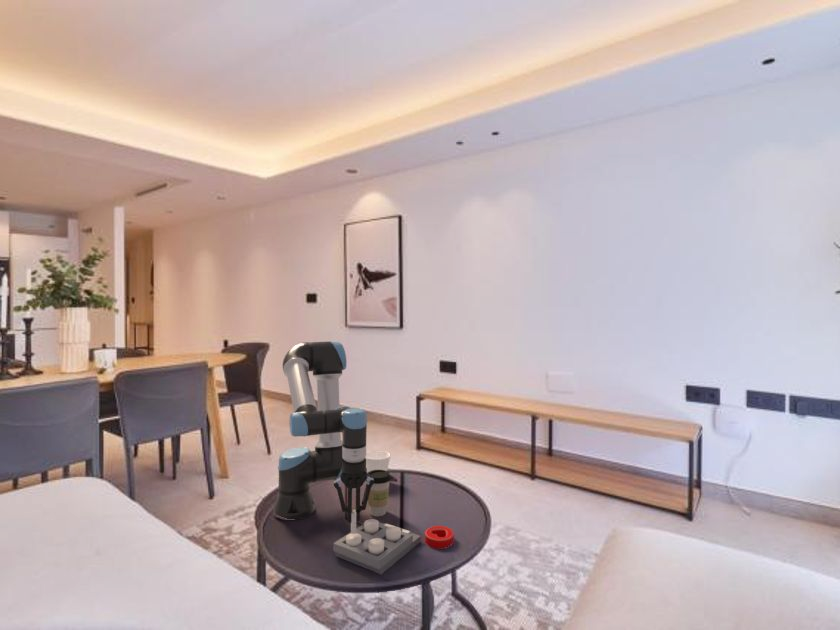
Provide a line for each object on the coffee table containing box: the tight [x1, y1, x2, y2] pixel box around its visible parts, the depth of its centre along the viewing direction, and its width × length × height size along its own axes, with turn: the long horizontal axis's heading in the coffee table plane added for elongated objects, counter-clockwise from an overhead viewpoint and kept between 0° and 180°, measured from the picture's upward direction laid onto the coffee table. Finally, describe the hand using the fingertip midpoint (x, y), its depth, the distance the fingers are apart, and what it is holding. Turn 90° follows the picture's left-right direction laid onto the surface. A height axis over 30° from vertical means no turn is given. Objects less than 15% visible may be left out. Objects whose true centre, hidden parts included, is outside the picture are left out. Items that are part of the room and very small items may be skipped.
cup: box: [365, 450, 391, 473], centre depth 204 cm, size 12×12×12 cm
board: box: [332, 521, 422, 575], centre depth 149 cm, size 18×23×4 cm
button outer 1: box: [368, 538, 384, 556], centre depth 140 cm, size 5×5×3 cm
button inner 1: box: [345, 533, 361, 547], centre depth 145 cm, size 5×5×3 cm
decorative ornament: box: [424, 525, 455, 550], centre depth 154 cm, size 10×10×3 cm
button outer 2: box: [386, 525, 401, 543], centre depth 148 cm, size 5×5×3 cm
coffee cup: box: [366, 470, 392, 517], centre depth 175 cm, size 10×10×15 cm
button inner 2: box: [363, 518, 380, 535], centre depth 153 cm, size 5×5×3 cm
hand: (353, 531), depth 146 cm, fingers closed
